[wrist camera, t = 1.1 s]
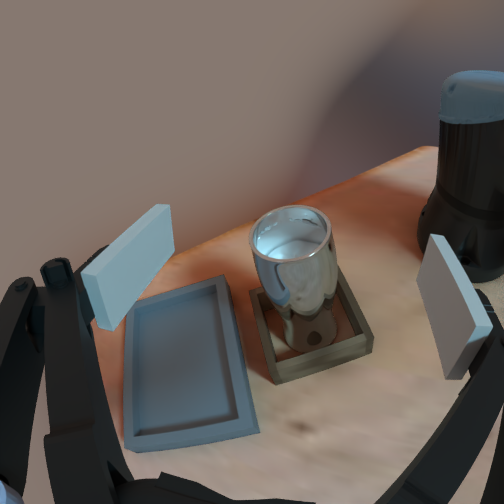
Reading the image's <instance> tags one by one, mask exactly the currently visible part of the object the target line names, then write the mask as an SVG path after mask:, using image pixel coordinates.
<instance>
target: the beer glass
mask: <svg viewBox="0 0 504 504" xmlns="http://www.w3.org/2000/svg"><path fill="white" fill-rule="evenodd" d="M249 244H250V247H251V250H252V255H253V259H254V263H255V267H256V271H257V274H258V277H259V280H260V283H261V285H262V288H263V290H264V292H265V294H266V296H267V297H268V299H269V301H270V302H271V304H272V305H273V307H274V308H275V310H276V311H277V312H278V314H279V315H280V316H281V318H282V320H283V334H284V338H285V340H286V342H287V344H288V345H289V346H290V347H291V348H292V349H294V350H296V351H298V352H301V353H309V352H312V351H315V350H318V349H321V348H324V347H327V346H329V345H330V344H331V343H332V342H333V340H334V338H335V336H336V333H337V322H336V319H335V316H334V314H333V312H332V307H333V302H334V297H335V292H336V287H337V278H338V264H337V255H336V248H335V243H334V239H333V234H332V227H331V223H330V220H329V219H328V217H327V216H326V215H325V214H324V213H323V212H322V211H320V210H318V209H316V208H314V207H310V206H306V205H288V206H283V207H279V208H276V209H274V210H272V211H270V212H268V213H266V214H264V215H263V216H262V217H260V218H259V219H258V220H257V221H256V222H255V224H254V225H253V227H252V228H251V231H250V234H249Z"/></svg>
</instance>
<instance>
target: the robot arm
mask: <svg viewBox="0 0 504 504" xmlns="http://www.w3.org/2000/svg"><path fill="white" fill-rule="evenodd" d="M441 92H442V93H441V109H440V110H439V119H440V133H439V134H440V135H439V152H438V166H437V178H436V185H435V187H434V189H433V191H432V193H431V195H430V197H429V199H428V201H427V204H426V205H425V207H424V208H423V210H422V212H421V214H420V218H419V223H418V231H417V238H418V243H419V246H420V248H421V251H422V252H423V254H424V257H423V261H422V264H421V267H420V270H419V274H418V277H417V280H416V281H417V284H418V287H419V290H420V293H421V296H422V299H423V302H424V305H425V308H426V311H427V314H428V318H429V321H430V324H431V328H432V331H433V334H434V338H435V341H436V345H437V349H438V352H439V356H440V360H441V364H442V368H443V372H444V376H445V380H461V379H462V378H463V376H464V375H465V373H466V372H467V370H469V373H470V376H471V377H470V379H469V380H468V382H467V383H466V384H465V386H464V387H463V389H462V390H461V391H460V393H459V394H458V395H459V396H458V398H457V399H456V401H455V403H454V404H453V406H452V407H451V409H450V410H449V412H448V413H447V415H446V416H445V418H444V419H443V421H442V422H441V424H440V425H439V426H438V428H437V429H436V431H435V432H434V433H433V435H432V436H431V438H430V439H429V440H428V442H427V443H426V444H425V446H424V447H423V448H422V449H421V451H420V452H419V453H418V455H417V456H416V457H415V458H414V460H413V461H412V462H411V463H410V464H409V466H408V467H407V468H406V469H405V470H404V472H403V473H402V474H401V475H400V476H399V477H398V479H397V480H396V481H395V482H394V483H393V484H392V485H391V486H390V488H389V489H388V490H387V491H386V492H385V493H384V494H383V495H382V496H381V497H380V498H379V499H378V500H377V501H376V502H375V503H374V504H448V502H449V501H450V500H451V498H452V497H453V495H454V494H455V492H456V491H457V489H458V488H459V486H460V485H461V483H462V481H463V480H464V478H465V477H466V475H467V473H468V472H469V470H470V468H471V467H472V465H473V463H474V461H475V460H476V458H477V456H478V454H479V453H480V451H481V449H482V447H483V445H484V443H485V441H486V439H487V437H488V435H489V433H490V431H491V429H492V427H493V425H494V423H495V421H496V419H497V417H498V415H499V412H500V410H501V408H502V406H503V403H504V329H503V327H502V325H501V323H500V321H499V319H498V317H497V315H496V313H494V309H493V307H492V306H491V304H490V302H489V300H488V298H487V296H486V295H485V294H484V293H483V292H482V291H481V290H480V289H474V287H473V285H472V283H482V282H488V281H492V280H494V279H497V278H498V277H500V276H501V275H503V274H504V73H502V72H496V71H485V70H473V71H463V72H459V73H455V74H453V75H451V76H450V77H448V78H447V79H446V80H445V81H444V83H443V86H442V91H441ZM174 251H175V249H174V241H173V232H172V222H171V212H170V205H167V204H156V205H155V206H154V207H152V208H151V209H150V210H149V211H148V212H147V213H145V214H144V215H143V216H142V217H141V218H140V219H138V220H137V221H136V222H135V223H134V224H133V225H131V226H130V227H129V228H128V229H127V230H126V231H125V232H124V233H123V234H121V235H120V236H119V237H118V238H117V239H116V240H115V241H114V242H113V243H112V244H110V245H107V246H105V247H103V248H101V249H99V250H98V251H97V252H96V253H94V254H93V255H92V257H90V258H89V259H88V260H87V262H85V263H84V264H83V265H82V266H81V267H79V268H78V270H76V271H75V272H74V273H73V272H72V268H71V265H70V262H69V260H68V259H67V258H61V257H60V258H55V259H52V260H50V261H48V262H46V263H45V264H44V265H43V266H42V267H41V269H40V272H41V275H42V278H43V281H44V283H45V286H46V287H36V285H35V283H34V280H33V278H31V277H21V278H19V279H17V280H15V281H14V282H13V283H12V284H11V285H10V286H9V288H8V290H7V292H6V294H5V296H4V298H3V300H2V302H1V303H0V504H24V502H23V499H22V496H23V492H24V488H25V483H26V476H27V468H28V457H29V449H30V440H31V432H32V426H33V420H34V413H35V408H36V402H37V397H38V392H39V387H40V382H41V377H42V373H43V368H44V364H45V379H46V393H47V405H48V415H49V424H50V434H48V435H45V436H44V449H45V456H46V462H47V468H48V473H49V479H50V484H51V488H52V493H53V498H54V502H55V504H316V503H314V502H303V501H293V500H285V499H277V498H276V499H261V500H232V499H229V498H227V497H225V496H223V495H221V494H219V493H217V492H215V491H213V490H211V489H209V488H207V487H205V486H203V485H201V484H199V483H197V482H194V481H191V480H187V479H184V478H180V477H177V476H174V475H170V474H167V473H164V472H161V474H160V476H159V478H158V479H139V480H134V478H133V476H132V474H131V472H130V470H129V468H128V466H127V464H126V462H125V459H124V456H123V453H122V450H121V447H120V444H119V441H118V437H117V434H116V431H115V427H114V424H113V420H112V417H111V413H110V409H109V405H108V402H107V398H106V394H105V389H104V385H103V381H102V376H101V372H100V367H99V362H98V357H97V352H96V347H95V342H94V336H93V330H92V327H91V324H90V322H91V321H92V320H93V318H94V317H95V319H96V322H97V324H98V327H99V328H102V329H105V330H109V331H112V332H113V331H114V330H115V329H116V327H117V326H118V324H119V323H120V322H121V320H122V319H123V318H124V316H125V315H126V314H127V312H128V311H129V310H130V308H131V307H132V306H133V304H134V303H135V302H136V300H137V299H138V298H139V296H140V295H141V294H142V292H143V291H144V290H145V288H146V287H147V286H148V285H149V283H150V282H151V281H152V279H153V278H154V277H155V276H156V274H157V273H158V272H159V270H160V269H161V268H162V267H163V265H164V264H165V263H166V261H167V260H168V259H169V258H170V256H171V255H172V254H173V253H174ZM471 282H472V283H471ZM480 504H504V406H503V413H502V419H501V424H500V430H499V435H498V440H497V444H496V449H495V453H494V457H493V461H492V465H491V469H490V473H489V476H488V480H487V483H486V487H485V490H484V493H483V496H482V499H481V502H480Z"/></svg>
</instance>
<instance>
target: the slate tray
mask: <svg viewBox="0 0 504 504" xmlns="http://www.w3.org/2000/svg"><path fill="white" fill-rule="evenodd" d="M123 420H124V448H126V449H128V450H131V451H133V452H136V453H143V452H153V451H162V450H170V449H177V448H184V447H191V446H197V445H203V444H209V443H214V442H220V441H225V440H230V439H234V438H239V437H244V436H248V435H252V434H257V433H260V431H259V427H258V422H257V418H256V413H255V409H254V404H253V399H252V395H251V390H250V386H249V381H248V376H247V371H246V367H245V362H244V357H243V352H242V347H241V343H240V338H239V333H238V328H237V323H236V318H235V313H234V308H233V303H232V298H231V292H230V287H229V285H228V283H227V281H226V278H225V276H224V274H223V275H220V276H217V277H214V278H211V279H207V280H204V281H201V282H198V283H195V284H191V285H188V286H185V287H182V288H179V289H175V290H172V291H169V292H166V293H162V294H159V295H156V296H153V297H149V298H146V299H143V300H140V301H136V302H135V303H134V304H133V306H132V307H131V308H130V310H129V311H128V312H127V315H126V330H125V349H124V380H123Z"/></svg>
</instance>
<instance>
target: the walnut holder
mask: <svg viewBox="0 0 504 504" xmlns="http://www.w3.org/2000/svg"><path fill="white" fill-rule="evenodd" d="M336 293H337V295H338V297H339V299H340V301H341V303H342V306H343V308H344V310H345V312H346V314H347V316H348V319H349V321H350V323H351V325H352V327H353V330H354V332H355V334H356V336H355V337H352V338H349V339H347V340H344V341H341V342H338V343H335V344H333V345H330V346H327V347H324V348H321V349H318V350H315V351H312V352H309V353H306V354H303V355H300V356H297V357H294V358H290V359H287V360H284V361H281V362H277V359H276V355H275V351H274V348H273V344H272V340H271V337H270V333H269V329H268V326H267V322H266V318H265V315H264V311H266V310H269V309H272V308H274V307H273V305H272V304H271V302H270V301H269V299H268V297H267V296H266V294H265V292H264V290H263V288H262V287H259V288H256V289H253V290H250V291H249V294H250V298H251V302H252V306H253V310H254V314H255V318H256V322H257V326H258V330H259V334H260V338H261V342H262V346H263V350H264V354H265V358H266V362H267V366H268V370H269V373H270V375H271V377H272V379H273V381H274V383H275V385H279V384H282V383H286V382H289V381H292V380H295V379H299V378H302V377H305V376H308V375H311V374H314V373H317V372H320V371H323V370H326V369H329V368H332V367H335V366H338V365H340V364H343V363H346V362H349V361H351V360H354V359H357V358H359V357H362V356H365V355H367V354H370V353H372V348H373V341H374V336H373V333H372V331H371V329H370V327H369V325H368V323H367V321H366V319H365V317H364V315H363V313H362V311H361V309H360V307H359V305H358V303H357V301H356V299H355V297H354V295H353V293H352V291H351V289H350V287H349V285H348V283H347V281H346V279H345V277H344V275H343V273H342V272H341V270H340V268H339V266H338V278H337V287H336Z"/></svg>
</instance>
